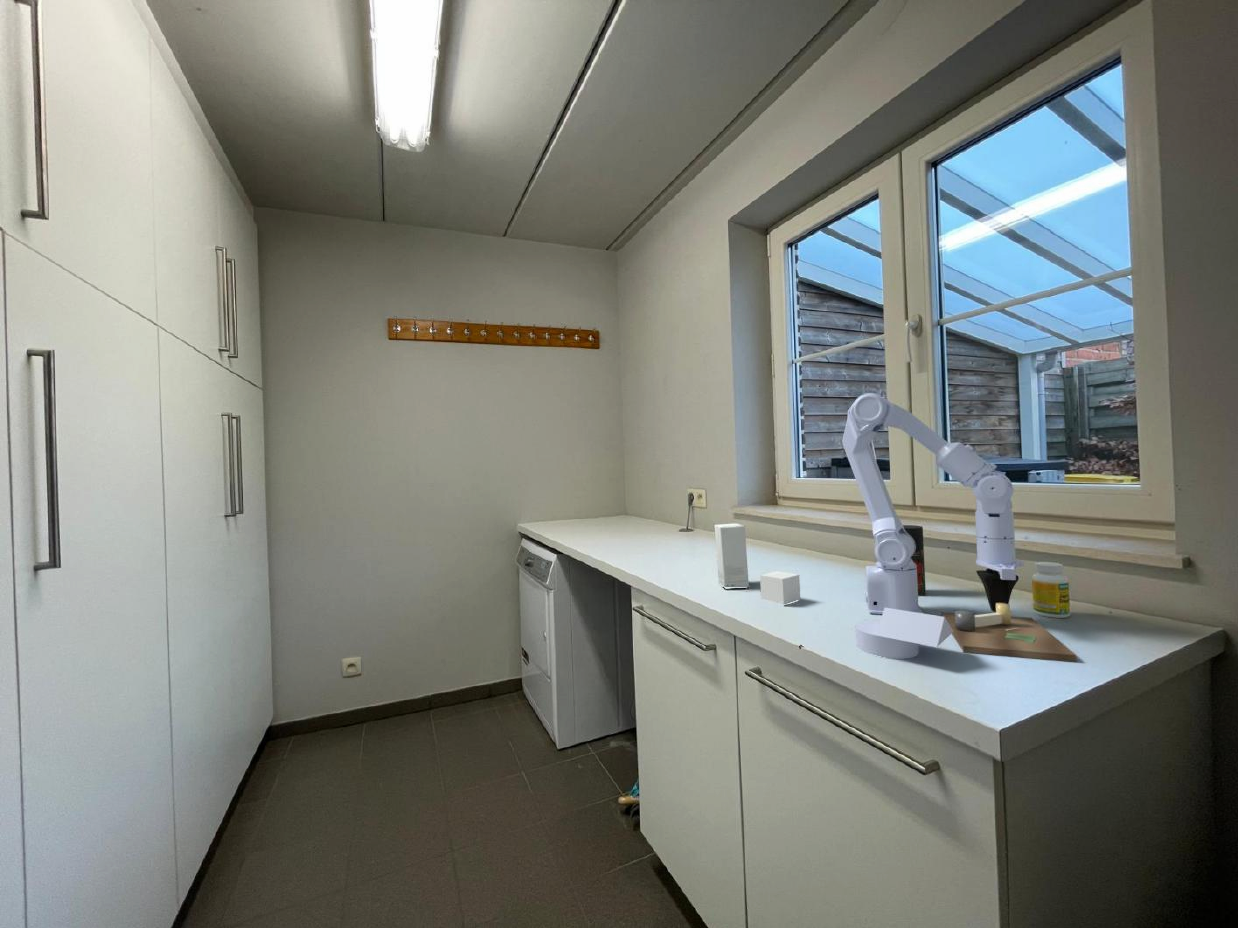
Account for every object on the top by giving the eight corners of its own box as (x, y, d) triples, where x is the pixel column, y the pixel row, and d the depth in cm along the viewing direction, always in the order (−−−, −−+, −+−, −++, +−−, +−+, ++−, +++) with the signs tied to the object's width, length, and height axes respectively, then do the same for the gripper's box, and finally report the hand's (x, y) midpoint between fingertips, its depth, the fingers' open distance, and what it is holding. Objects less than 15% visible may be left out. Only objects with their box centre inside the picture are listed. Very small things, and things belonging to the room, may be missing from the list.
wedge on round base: (954, 652, 81) (868, 635, 90) (952, 610, 81) (866, 597, 90) (938, 670, 75) (847, 650, 84) (935, 624, 75) (845, 608, 84)
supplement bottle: (1039, 608, 101) (1037, 559, 101) (1074, 614, 96) (1072, 563, 96) (1028, 614, 98) (1026, 563, 98) (1064, 620, 93) (1062, 567, 93)
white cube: (761, 601, 115) (759, 574, 115) (777, 596, 119) (776, 570, 119) (783, 606, 110) (782, 578, 110) (800, 601, 114) (799, 574, 114)
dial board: (963, 652, 81) (963, 645, 81) (941, 617, 98) (941, 611, 98) (1076, 661, 75) (1076, 654, 75) (1031, 623, 93) (1031, 617, 93)
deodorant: (926, 590, 118) (923, 525, 118) (925, 596, 113) (922, 528, 113) (896, 588, 121) (893, 524, 121) (894, 594, 116) (891, 527, 116)
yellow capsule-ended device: (965, 631, 87) (964, 611, 87) (951, 626, 89) (950, 607, 89) (1016, 624, 89) (1015, 605, 89) (1000, 620, 91) (1000, 601, 91)
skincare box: (749, 589, 126) (746, 526, 127) (722, 590, 127) (719, 527, 127) (741, 581, 135) (738, 522, 135) (716, 582, 135) (713, 523, 135)
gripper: (1036, 543, 86) (1040, 624, 86) (1009, 531, 99) (1012, 601, 99) (985, 542, 89) (989, 621, 89) (966, 531, 102) (969, 599, 102)
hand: (998, 611), depth 94 cm, fingers closed
